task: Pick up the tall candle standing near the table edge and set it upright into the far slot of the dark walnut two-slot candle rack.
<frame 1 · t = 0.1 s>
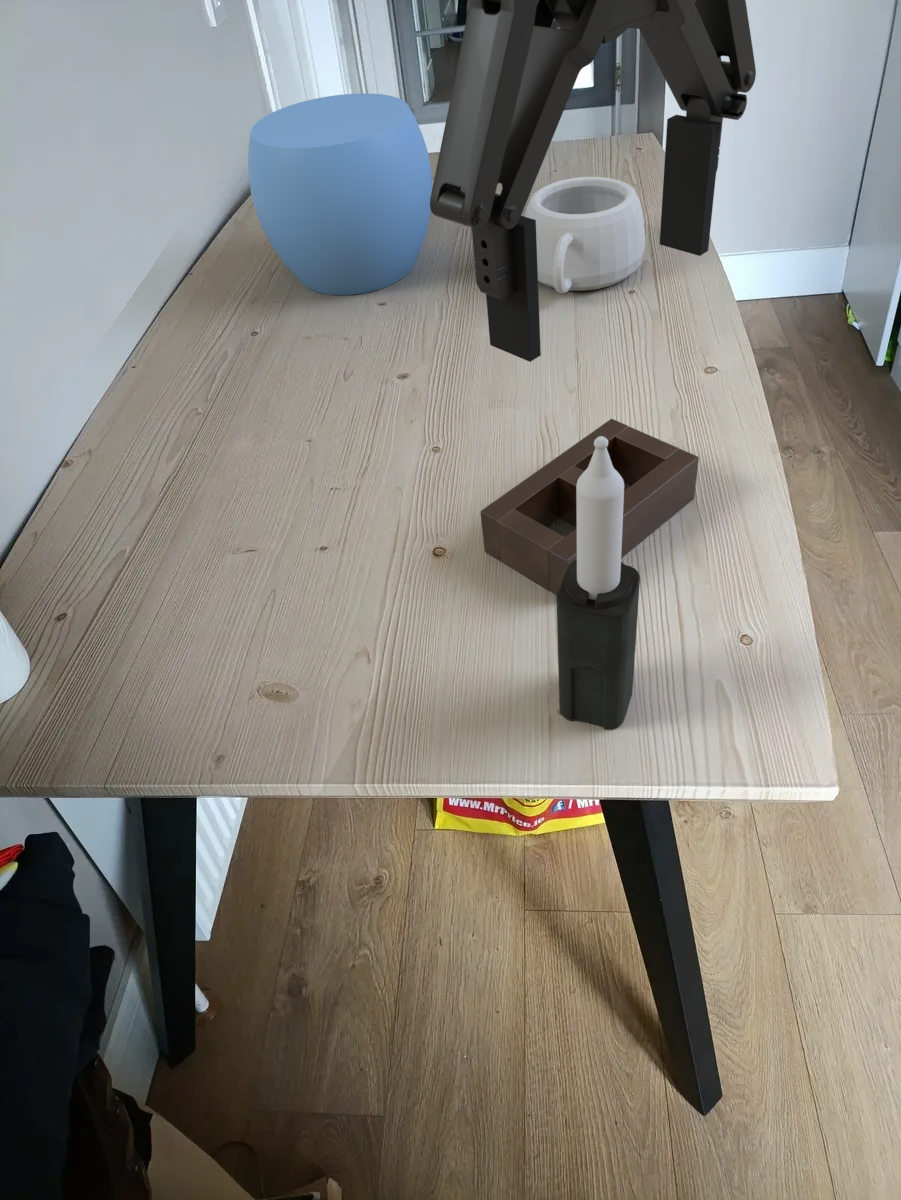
hand: (604, 296, 46), 34 cm above the table, tool pointing down, fingers open, 13 cm apart
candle: (596, 701, 70), on the table
rack: (590, 524, 84), on the table
mug: (578, 277, 121), on the table
blue rounded stool: (357, 269, 130), on the table
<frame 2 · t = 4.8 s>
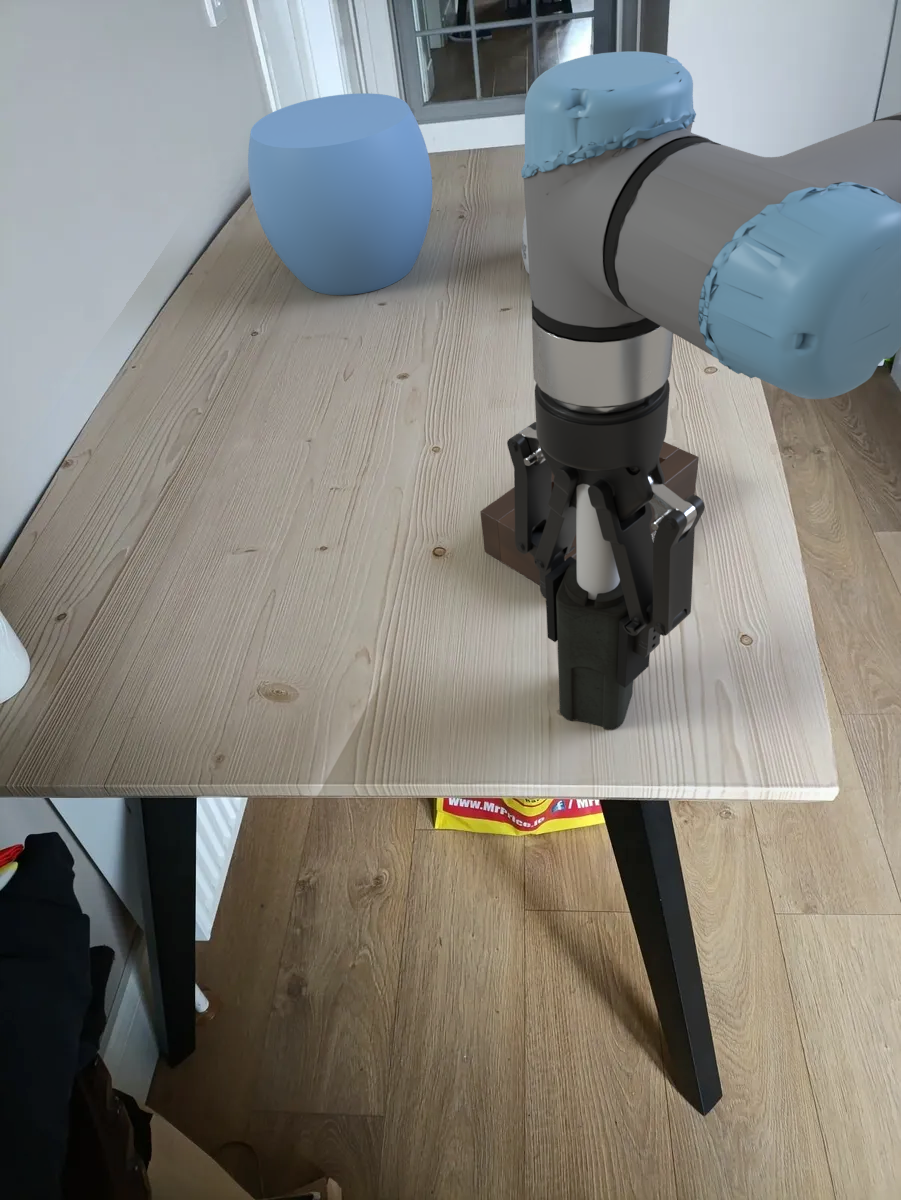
hand: (597, 651, 65), 6 cm above the table, tool pointing down, fingers closed on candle, 6 cm apart
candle: (596, 701, 70), on the table, touching gripper
everything else where it was.
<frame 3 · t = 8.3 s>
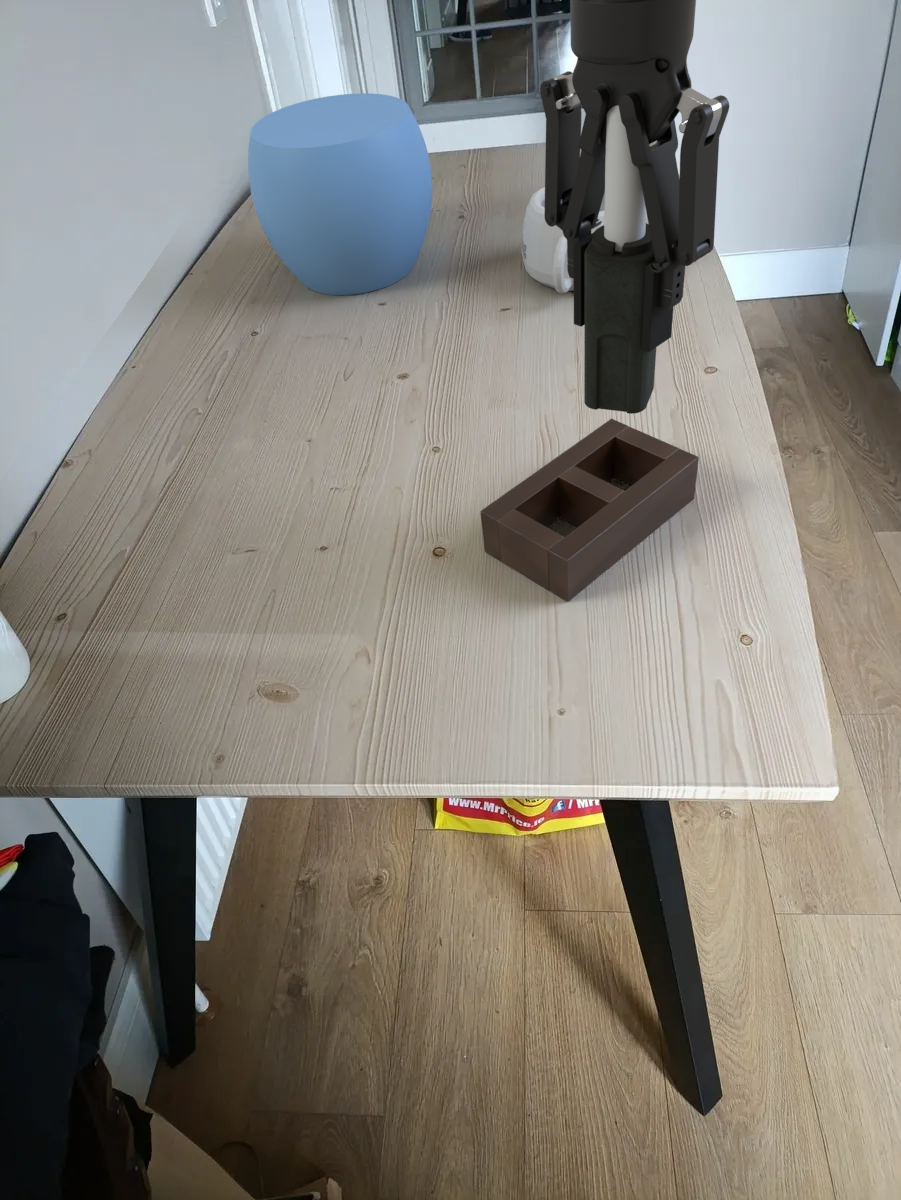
hand: (621, 329, 69), 21 cm above the table, tool pointing down, fingers closed on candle, 6 cm apart
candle: (619, 397, 73), point 15 cm above the table, touching gripper
everything else where it was.
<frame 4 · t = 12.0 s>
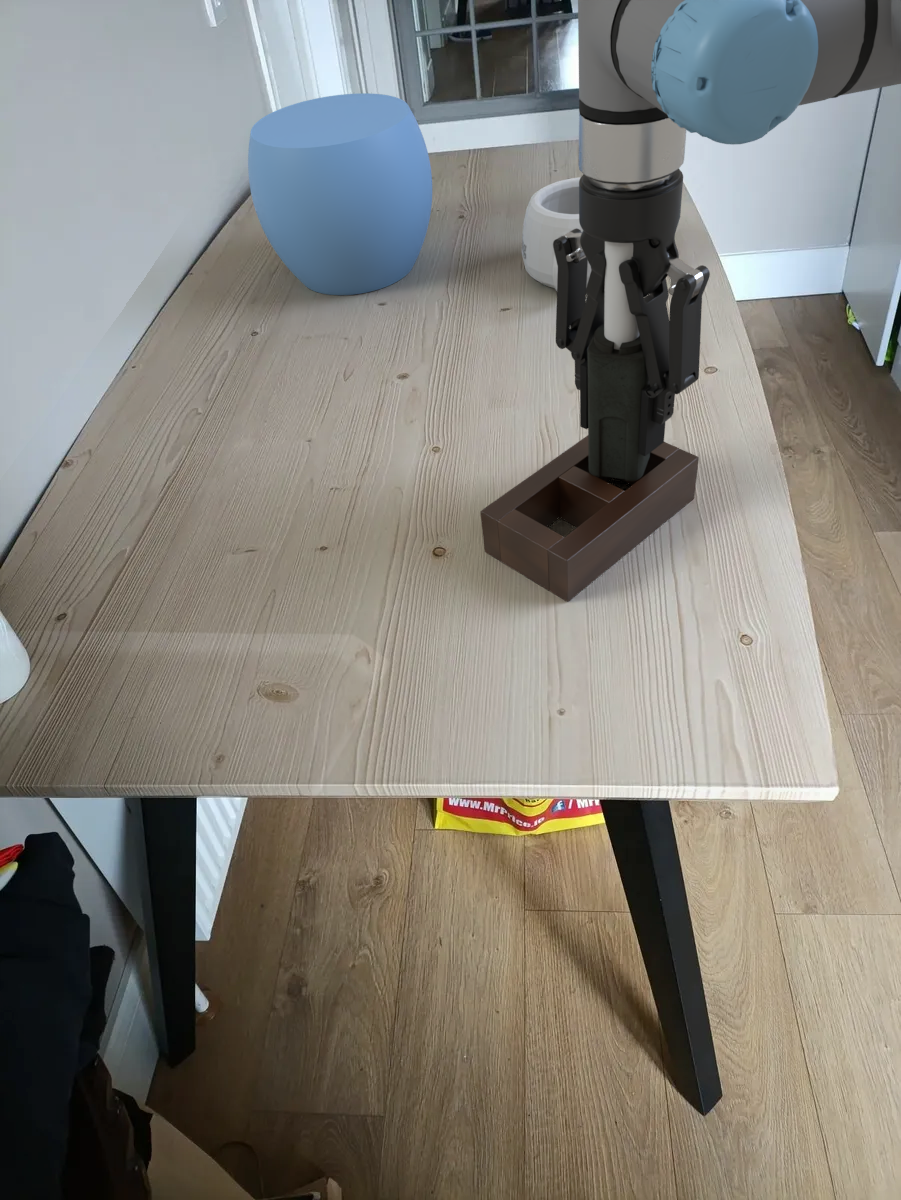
hand: (621, 433, 80), 8 cm above the table, tool pointing down, fingers closed on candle, 6 cm apart
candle: (619, 464, 83), point 5 cm above the table, touching gripper, rack
everything else where it was.
when the fingers open (7 cm above the table, at t = 12.5 s): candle stays where it is, resting on rack.
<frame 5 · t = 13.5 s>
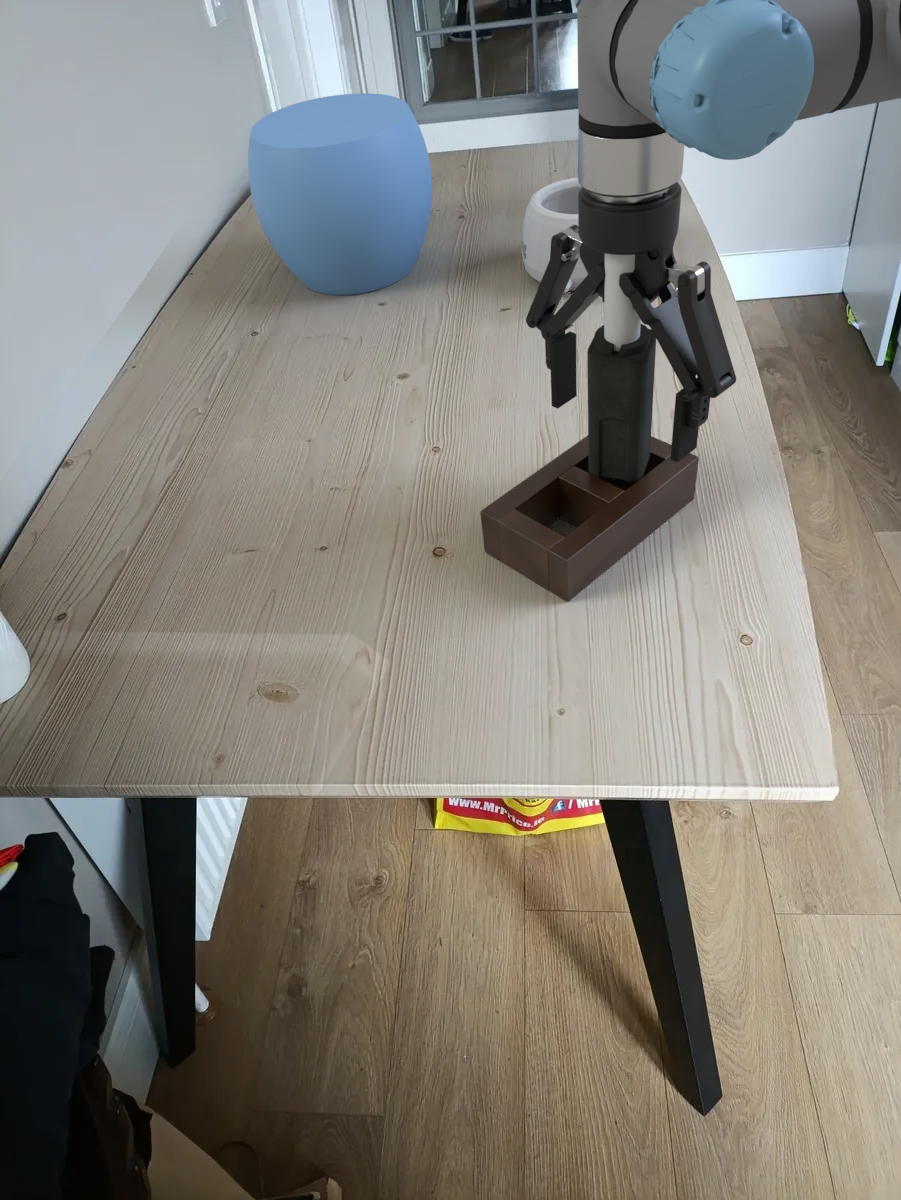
hand: (620, 426, 80), 9 cm above the table, tool pointing down, fingers open, 13 cm apart
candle: (619, 464, 83), point 5 cm above the table, touching rack
everything else where it was.
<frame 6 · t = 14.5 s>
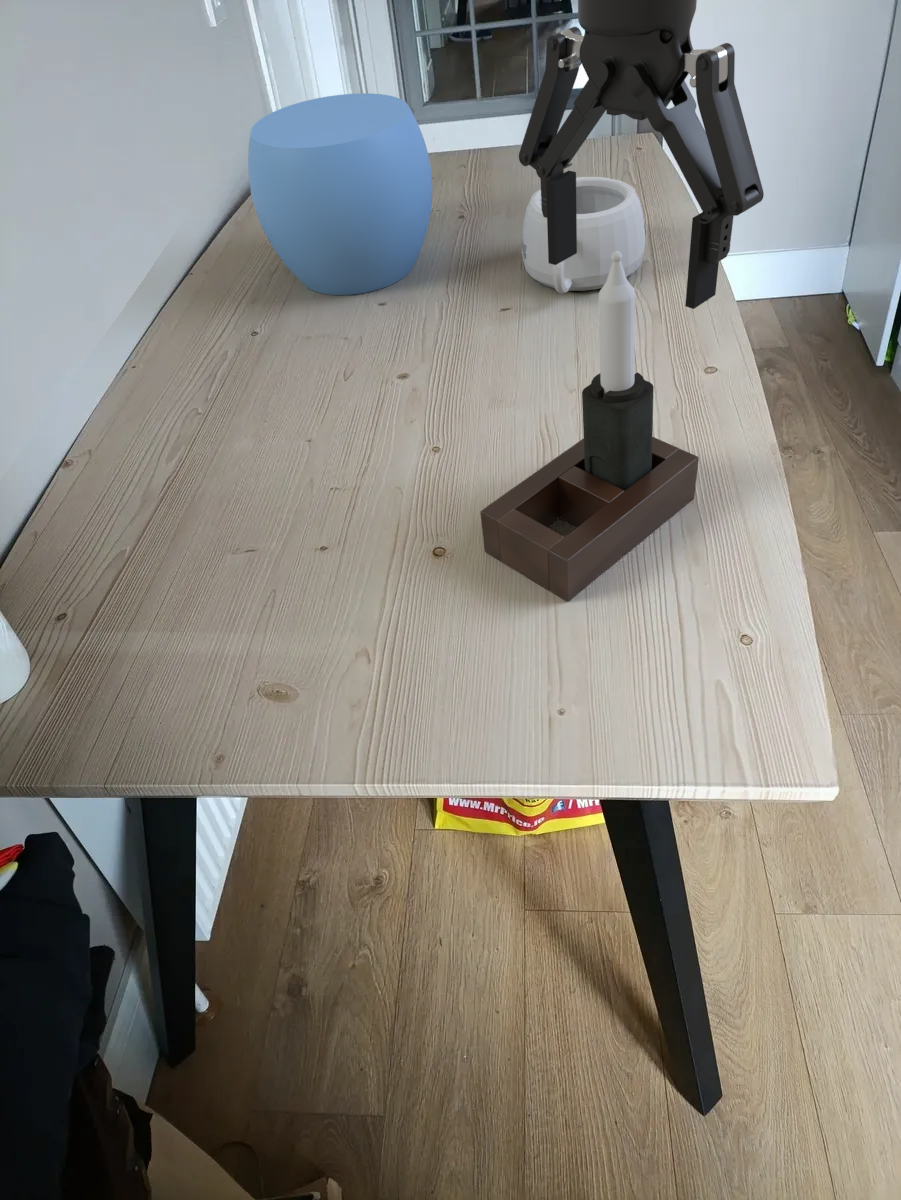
hand: (627, 278, 70), 23 cm above the table, tool pointing down, fingers open, 13 cm apart
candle: (618, 504, 86), resting in rack
everything else where it was.
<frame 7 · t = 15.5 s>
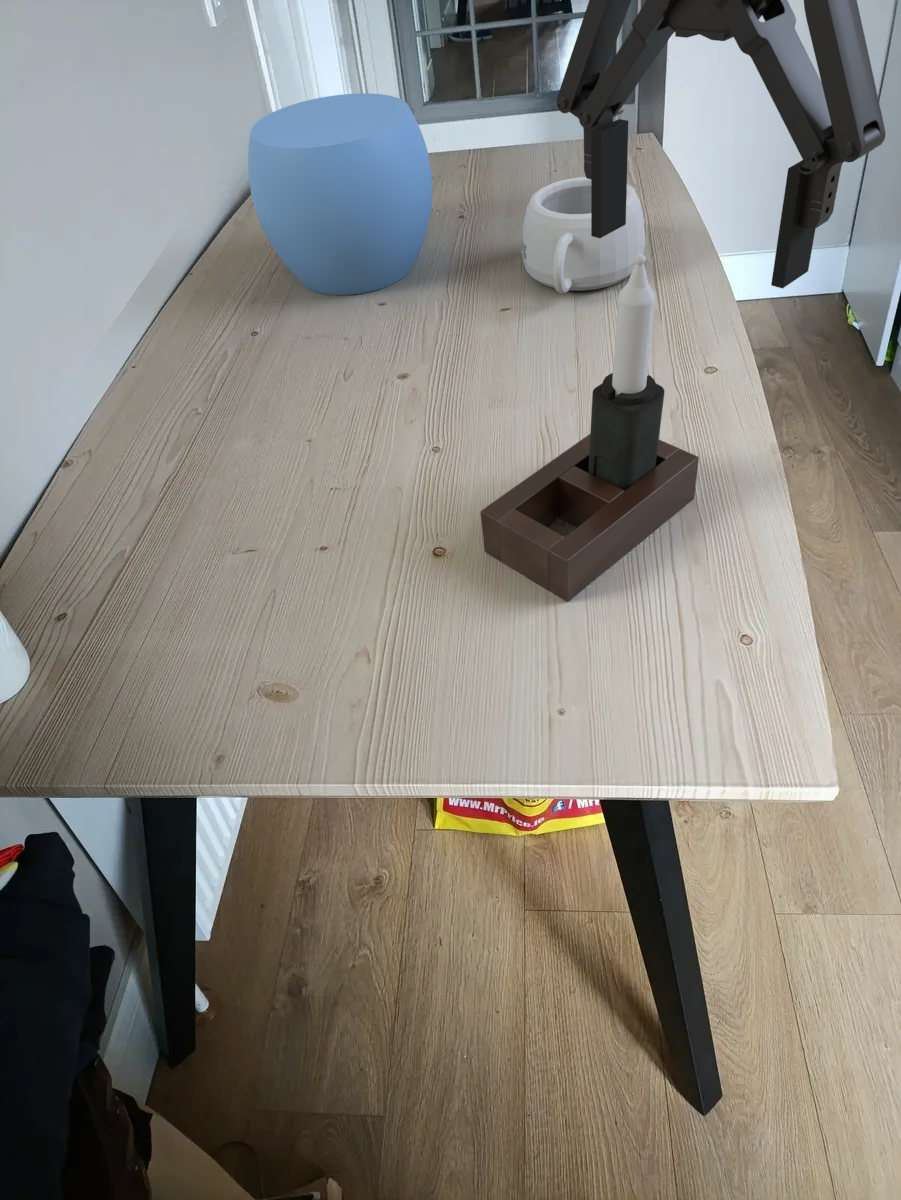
hand: (692, 253, 56), 30 cm above the table, tool pointing down, fingers open, 13 cm apart
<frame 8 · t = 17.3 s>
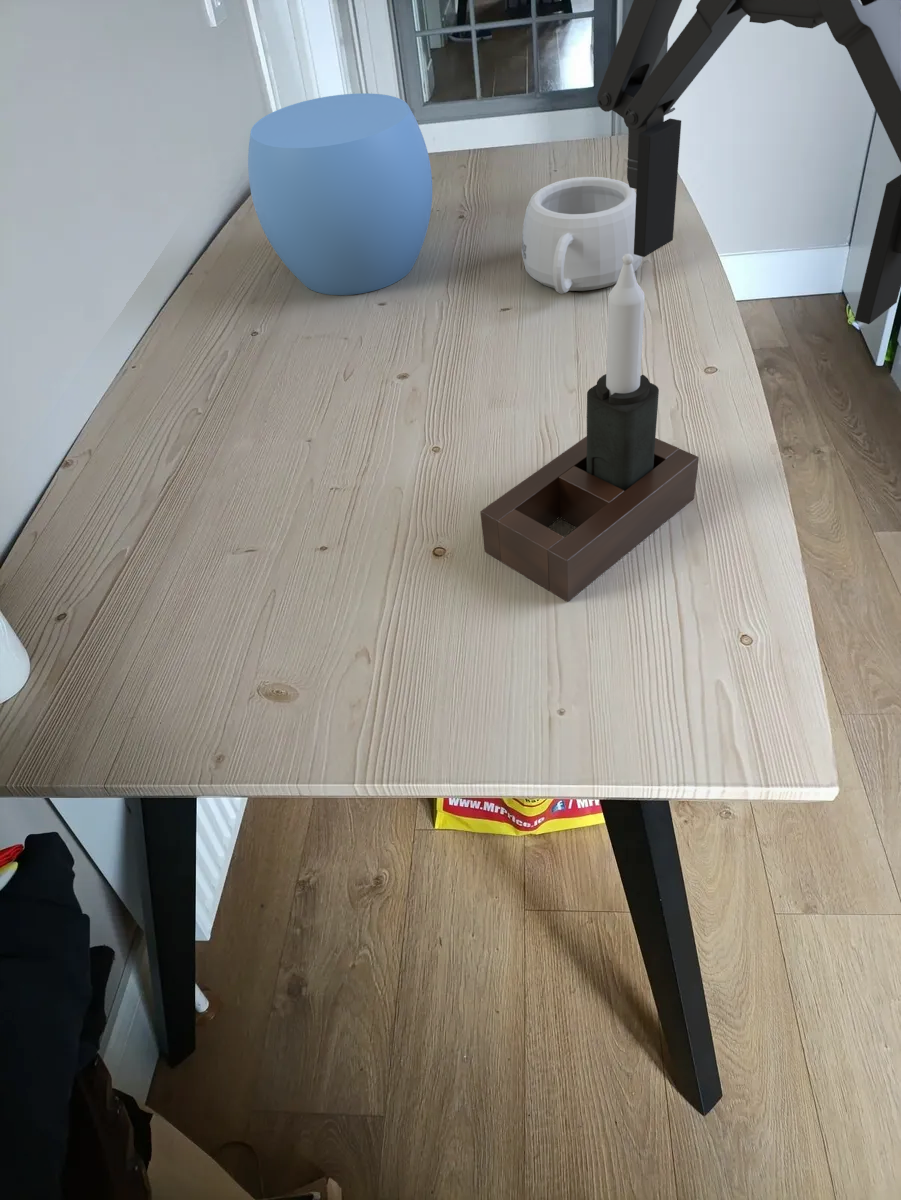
hand: (755, 277, 48), 33 cm above the table, tool pointing down, fingers open, 13 cm apart
at the end: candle 0.0 cm from the target spot in the rack, point 0.0 cm above the rack's base; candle tilted 0°; the gripper is holding nothing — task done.
